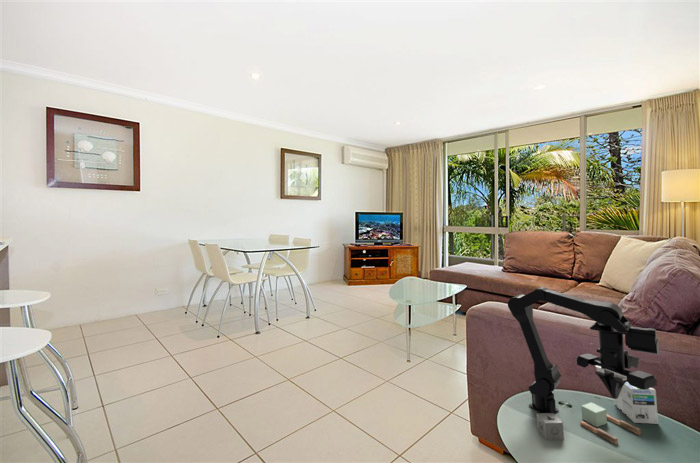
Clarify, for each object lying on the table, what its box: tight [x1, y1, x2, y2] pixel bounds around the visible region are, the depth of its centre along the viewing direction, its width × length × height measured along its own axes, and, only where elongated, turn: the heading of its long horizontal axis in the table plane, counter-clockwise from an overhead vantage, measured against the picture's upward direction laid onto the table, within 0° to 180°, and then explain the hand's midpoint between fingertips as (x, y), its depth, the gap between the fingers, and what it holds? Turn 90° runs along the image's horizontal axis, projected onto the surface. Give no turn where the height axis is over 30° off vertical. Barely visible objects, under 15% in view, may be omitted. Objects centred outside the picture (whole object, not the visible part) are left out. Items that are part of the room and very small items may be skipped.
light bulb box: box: [613, 382, 659, 425], centre depth 104 cm, size 11×7×11 cm, turn 168°
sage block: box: [581, 402, 608, 428], centre depth 101 cm, size 4×4×4 cm
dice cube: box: [536, 412, 565, 440], centre depth 97 cm, size 5×5×5 cm
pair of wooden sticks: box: [579, 413, 642, 445], centre depth 97 cm, size 10×11×2 cm
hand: (615, 398), depth 95 cm, fingers closed
